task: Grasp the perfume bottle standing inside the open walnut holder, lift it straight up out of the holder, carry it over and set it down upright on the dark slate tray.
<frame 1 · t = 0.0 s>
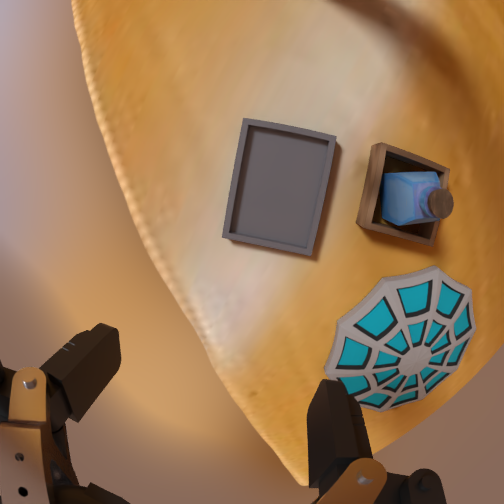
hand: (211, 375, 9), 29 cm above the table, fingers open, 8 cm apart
decorative platform: (405, 345, 41), on the table
holder: (399, 194, 34), on the table
tray: (278, 185, 36), on the table
perfume bottle: (398, 194, 34), resting in holder
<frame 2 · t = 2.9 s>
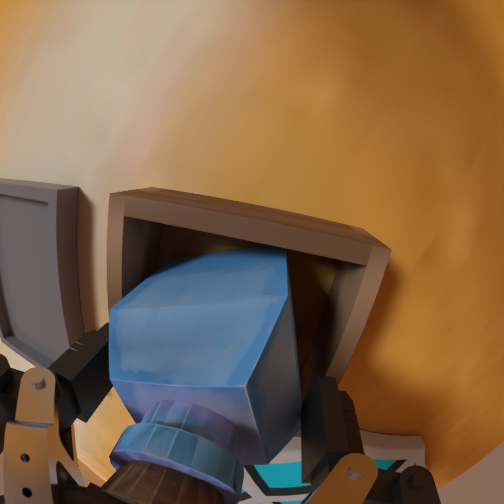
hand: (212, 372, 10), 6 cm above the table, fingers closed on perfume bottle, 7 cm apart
decorative platform: (300, 490, 22), on the table
holder: (236, 305, 15), on the table
tray: (30, 280, 17), on the table
perfume bottle: (236, 303, 15), resting in holder, touching gripper
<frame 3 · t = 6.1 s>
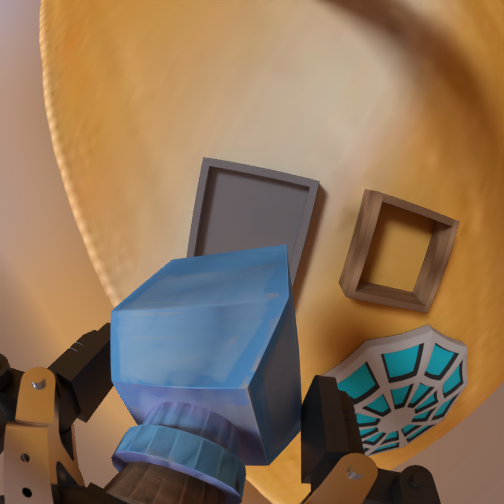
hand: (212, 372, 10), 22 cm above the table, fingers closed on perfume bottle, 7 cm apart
decorative platform: (389, 400, 36), on the table
holder: (394, 248, 29), on the table
tray: (247, 239, 31), on the table
perfume bottle: (237, 304, 15), point 16 cm above the table, touching gripper
when the fingers open (8 cm above the table, at t = 9.6 s): perfume bottle drops 1 cm, resting on tray.
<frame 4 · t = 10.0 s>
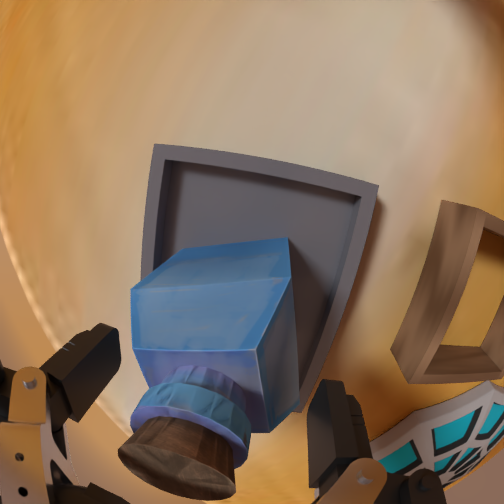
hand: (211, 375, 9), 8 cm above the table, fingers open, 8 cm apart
decorative platform: (424, 458, 22), on the table
holder: (471, 291, 15), on the table
tray: (242, 290, 17), on the table
perfume bottle: (241, 292, 17), point 1 cm above the table, touching tray
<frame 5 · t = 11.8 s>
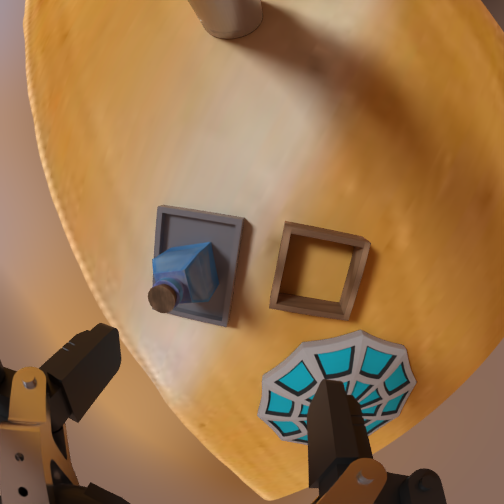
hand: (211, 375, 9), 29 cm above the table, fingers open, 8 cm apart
decorative platform: (338, 395, 44), on the table
holder: (316, 267, 38), on the table
tray: (196, 264, 40), on the table
perfume bottle: (195, 265, 39), point 1 cm above the table, touching tray
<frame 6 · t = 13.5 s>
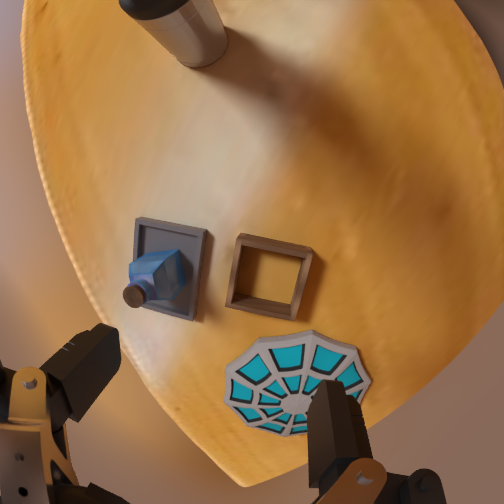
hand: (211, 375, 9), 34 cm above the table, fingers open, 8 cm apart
decorative platform: (296, 387, 51), on the table
holder: (268, 272, 44), on the table
tray: (167, 267, 46), on the table
perfume bottle: (166, 268, 45), point 1 cm above the table, touching tray
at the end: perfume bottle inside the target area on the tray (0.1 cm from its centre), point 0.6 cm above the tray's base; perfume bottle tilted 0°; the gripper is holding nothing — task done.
